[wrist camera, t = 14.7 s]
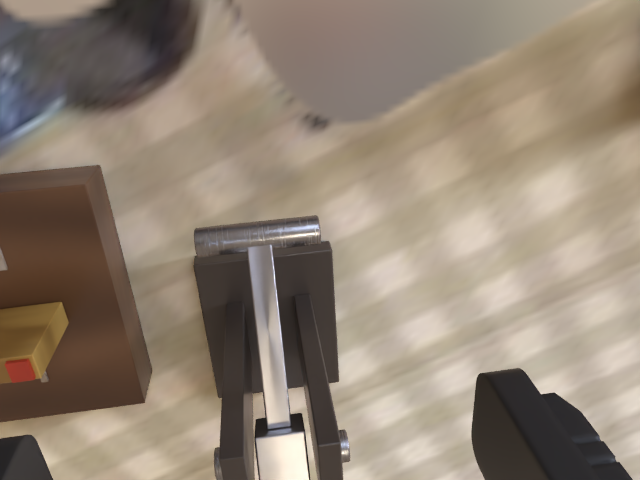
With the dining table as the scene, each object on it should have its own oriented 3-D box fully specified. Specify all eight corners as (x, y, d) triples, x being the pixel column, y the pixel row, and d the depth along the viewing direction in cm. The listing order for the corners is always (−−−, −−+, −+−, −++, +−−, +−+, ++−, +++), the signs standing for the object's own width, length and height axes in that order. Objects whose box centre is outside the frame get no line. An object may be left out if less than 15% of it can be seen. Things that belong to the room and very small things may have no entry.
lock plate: (-100, 183, 28) (-138, 207, 25) (100, 164, 29) (84, 185, 26) (-9, 391, 34) (-32, 428, 31) (152, 370, 35) (144, 405, 32)
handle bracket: (194, 255, 32) (168, 413, 20) (329, 240, 32) (376, 385, 21) (219, 386, 36) (208, 575, 25) (336, 370, 37) (378, 547, 25)
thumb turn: (-18, 333, 29) (-63, 395, 24) (-27, 312, 28) (-75, 371, 24) (69, 322, 29) (40, 382, 25) (61, 301, 28) (30, 358, 24)
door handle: (198, 228, 25) (190, 228, 23) (315, 216, 26) (319, 214, 23) (227, 481, 25) (223, 507, 23) (341, 464, 26) (349, 488, 24)
